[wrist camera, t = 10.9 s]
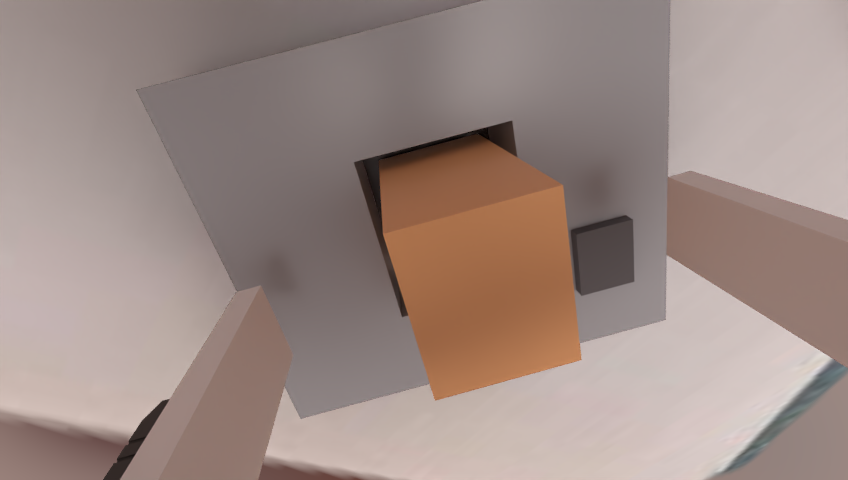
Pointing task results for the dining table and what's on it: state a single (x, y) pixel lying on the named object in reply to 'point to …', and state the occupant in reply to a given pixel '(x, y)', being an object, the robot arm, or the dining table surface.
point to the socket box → (414, 125)
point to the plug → (480, 263)
